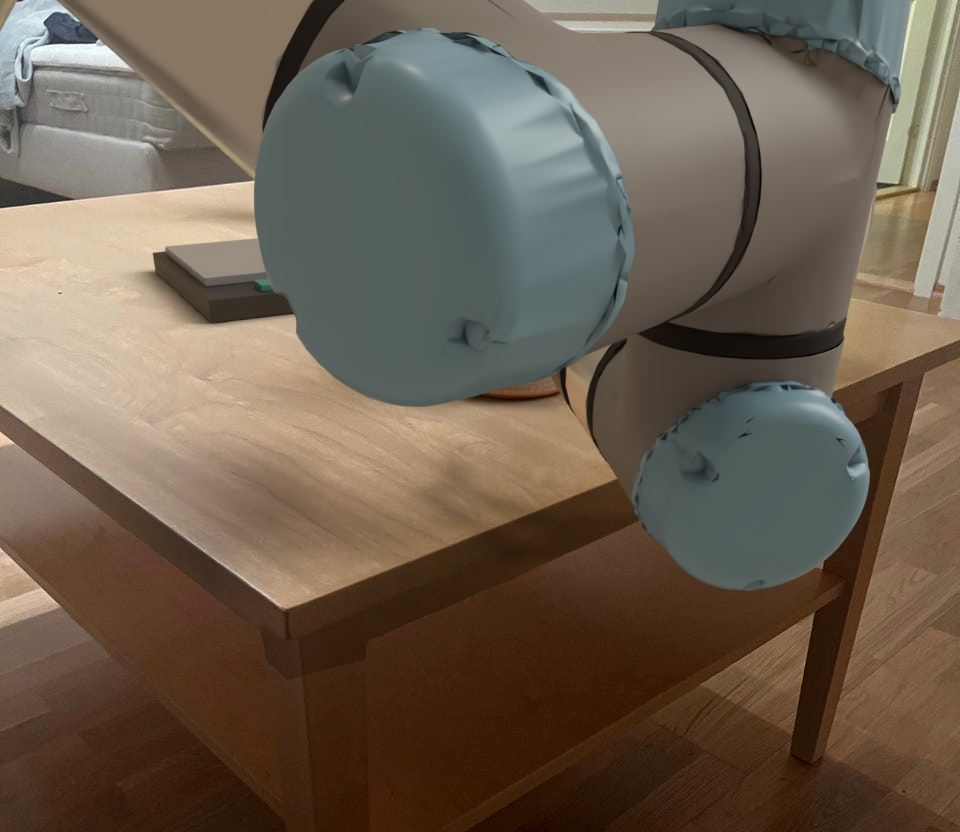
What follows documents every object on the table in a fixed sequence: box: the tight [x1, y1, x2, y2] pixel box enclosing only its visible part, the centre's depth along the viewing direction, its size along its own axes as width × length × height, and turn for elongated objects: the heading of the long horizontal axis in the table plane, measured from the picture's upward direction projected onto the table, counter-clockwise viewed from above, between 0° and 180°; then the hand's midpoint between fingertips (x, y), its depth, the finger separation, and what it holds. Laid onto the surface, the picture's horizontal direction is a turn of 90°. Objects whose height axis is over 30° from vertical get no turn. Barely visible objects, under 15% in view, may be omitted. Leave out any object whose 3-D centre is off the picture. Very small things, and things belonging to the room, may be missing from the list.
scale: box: [152, 237, 294, 324], centre depth 98 cm, size 20×16×3 cm
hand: (545, 260), depth 64 cm, fingers open, 13 cm apart
